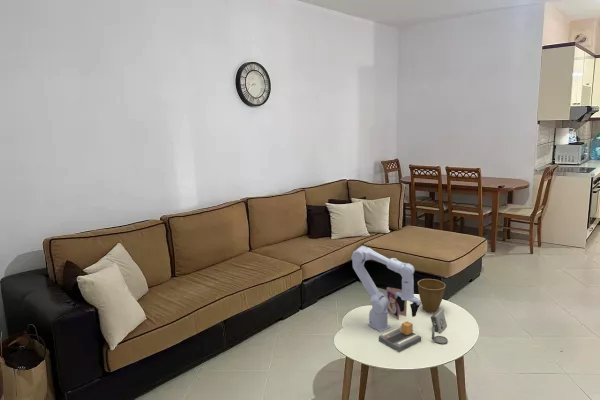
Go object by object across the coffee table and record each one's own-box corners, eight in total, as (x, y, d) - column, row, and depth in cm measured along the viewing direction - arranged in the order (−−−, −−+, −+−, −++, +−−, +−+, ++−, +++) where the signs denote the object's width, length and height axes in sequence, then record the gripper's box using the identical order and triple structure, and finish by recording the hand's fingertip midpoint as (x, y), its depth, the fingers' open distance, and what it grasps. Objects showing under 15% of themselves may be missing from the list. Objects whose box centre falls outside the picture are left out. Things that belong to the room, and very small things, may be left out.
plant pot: (411, 310, 244) (412, 284, 241) (425, 302, 254) (426, 276, 251) (435, 319, 234) (436, 291, 231) (449, 310, 244) (450, 283, 240)
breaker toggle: (401, 332, 215) (401, 323, 214) (406, 330, 217) (407, 321, 216) (407, 335, 212) (407, 326, 211) (412, 332, 214) (412, 323, 213)
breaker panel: (378, 340, 213) (378, 334, 212) (400, 330, 222) (400, 324, 221) (399, 352, 203) (399, 345, 202) (421, 341, 212) (421, 334, 211)
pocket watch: (450, 343, 209) (451, 324, 207) (435, 346, 207) (436, 327, 205) (440, 335, 217) (441, 316, 215) (425, 337, 215) (426, 319, 213)
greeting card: (385, 312, 243) (385, 287, 240) (395, 309, 246) (396, 284, 243) (397, 320, 233) (398, 294, 230) (408, 317, 236) (409, 292, 233)
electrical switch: (440, 334, 218) (439, 316, 217) (430, 331, 221) (429, 314, 220) (447, 326, 225) (446, 309, 224) (437, 324, 229) (436, 308, 227)
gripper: (391, 286, 219) (391, 311, 222) (413, 294, 208) (414, 321, 210) (400, 282, 223) (401, 307, 226) (423, 290, 212) (423, 316, 214)
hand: (408, 313), depth 218 cm, fingers open, 7 cm apart
